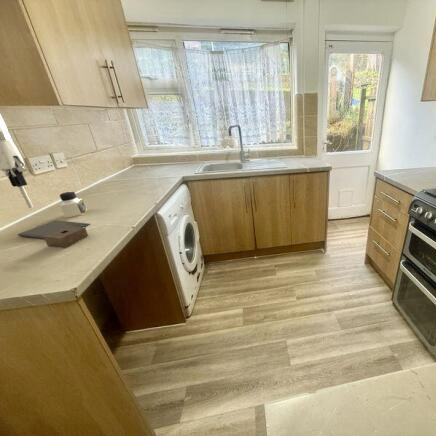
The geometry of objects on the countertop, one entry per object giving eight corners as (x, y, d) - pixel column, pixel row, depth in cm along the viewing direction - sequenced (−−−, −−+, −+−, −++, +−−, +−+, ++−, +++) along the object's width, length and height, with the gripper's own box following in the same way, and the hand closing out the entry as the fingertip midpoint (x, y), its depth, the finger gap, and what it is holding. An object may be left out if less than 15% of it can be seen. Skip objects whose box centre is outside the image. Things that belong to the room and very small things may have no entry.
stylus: (30, 208, 100) (12, 172, 94) (27, 208, 100) (9, 172, 94) (34, 207, 101) (17, 171, 95) (32, 206, 101) (14, 171, 95)
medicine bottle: (82, 215, 126) (72, 193, 120) (65, 218, 123) (54, 196, 118) (87, 210, 132) (77, 189, 127) (71, 213, 129) (61, 191, 124)
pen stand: (65, 248, 95) (61, 238, 93) (47, 246, 97) (42, 236, 95) (89, 237, 103) (85, 227, 102) (71, 235, 106) (67, 225, 104)
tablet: (56, 240, 101) (55, 238, 101) (18, 235, 106) (17, 233, 106) (91, 225, 115) (90, 223, 114) (55, 221, 119) (55, 220, 119)
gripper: (-33, 138, 88) (-6, 187, 95) (-3, 138, 84) (23, 189, 92) (-5, 136, 94) (17, 182, 102) (24, 136, 91) (45, 184, 98)
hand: (20, 185), depth 97 cm, fingers closed on stylus, 1 cm apart
